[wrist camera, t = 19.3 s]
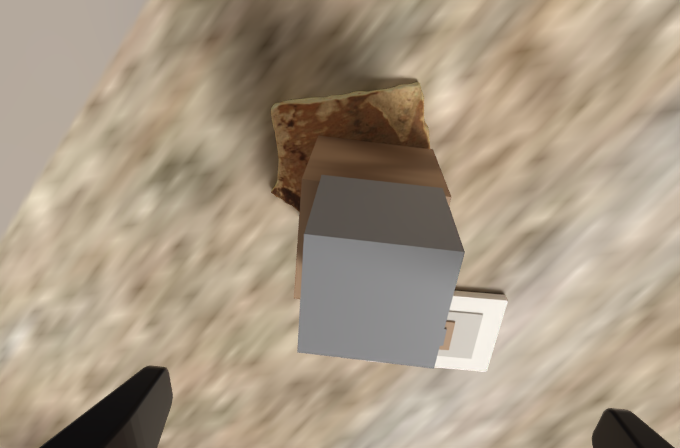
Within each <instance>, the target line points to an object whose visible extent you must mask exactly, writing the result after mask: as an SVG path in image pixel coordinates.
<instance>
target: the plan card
mask: <svg viewBox="0 0 680 448" xmlns="http://www.w3.org/2000/svg"><path fill="white" fill-rule="evenodd" d="M507 302H508V300H507V297H506V295H501V294H490V293H478V292H466V291H454V294H453V298H452V302H451V306H450V310H449V313H448V317H447V321H446V325H445V328H444V332H443V336H442V340H441V344H440V347H439V351H438V355H437V359H436V362H435V366H434V367H438V368H449V369H460V370H471V371H482V372H487V369H488V366H489V362H490V359H491V356H492V352H493V349H494V346H495V342H496V339H497V336H498V332H499V329H500V326H501V322H502V319H503V316H504V312H505V309H506V306H507ZM372 362H375V361H372Z"/></svg>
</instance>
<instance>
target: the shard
mask: <svg viewBox="0 0 680 448" xmlns="http://www.w3.org/2000/svg"><path fill="white" fill-rule="evenodd" d="M271 117H272V124H273V128H274V131H275V138H276V143H277V149H278V159H279V162H278V175H277V176H278V179H277V183H276V185H275V186H274V187H273V189H272V191H271V193H273V194H274V195H275V196H276V197H279V198H281V199H282V200H283V201H284V202H285V203H287V204H290V205H292V206H293V207H294V208H295V209H297V210H298V211H299V212H300V199H301V184H302V177H303V175H304V172H305V169H306V167H307V164H308V161H309V159H310V156H311V154H312V151H313V148H314V146H315V143H316V141H317V138H318V136H326V137H334V138H342V139H351V140H359V141H367V142H375V143H384V144H392V145H400V146H408V147H417V148H425V149H430V140H429V130H428V126H427V125H426V123H425V121H424V96H423V93H422V91H421V86H420V83H418V82H415V83H411V84H402V85H398V86H396V87H392V88H388V89H381V90H375V91H368V92H365V91H355V92H352V93H349V94H344V95H331V96H328V97H325V98H320V97H311V98H304V99H295V100H287V101H283V102H279V103H275V104H274V105H273V106H272V108H271Z"/></svg>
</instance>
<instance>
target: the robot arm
mask: <svg viewBox="0 0 680 448" xmlns="http://www.w3.org/2000/svg"><path fill="white" fill-rule="evenodd" d="M172 399H173V394H172V388H171V382H170V377H169V372H168V369H167V368H166V367H160V366H146V367H144V368H143V369H142V370H140V371H139V372H138V373H136V374H135V375H134V376H132V377H131V378H130V379H128V380H127V381H126V382H125V383H123V384H122V385H121V386H119V387H118V388H117V389H115V390H114V391H113V392H111V393H110V394H109V395H108V396H106V397H105V398H104V399H102V400H101V401H100V402H98V403H97V404H96V405H94V406H93V407H92V408H91V409H89V410H88V411H87V412H85V413H84V414H83V415H81V416H80V417H79V418H77V419H76V420H75V421H74V422H72V423H71V424H70V425H68V426H67V427H66V428H64V429H63V430H62V431H60V432H59V433H58V434H57V435H55V436H54V437H53V438H51V439H50V440H49V441H47V442H46V443H45V444H43V445H42V446H41V447H40V448H157V447H158V444H159V441H160V438H161V435H162V432H163V429H164V426H165V423H166V420H167V417H168V414H169V411H170V408H171V404H172ZM592 445H593V448H674V447H673V446H672V445H671V444H669V443H668V442H667V441H666V440H665V439H663V438H662V437H661V436H660V435H659V434H658V433H656V432H655V431H654V430H653V429H652V428H650V427H649V426H648V425H647V424H646V423H644V422H643V421H642V420H641V419H640V418H638V417H637V416H636V415H635V414H634V413H632V412H631V411H628V410H625V409H614V408H608V409H606V410H605V411H604V412H603V414H602V416H601V418H600V420H599V422H598V424H597V426H596V428H595V430H594V432H593V435H592Z"/></svg>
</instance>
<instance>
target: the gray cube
mask: <svg viewBox="0 0 680 448" xmlns="http://www.w3.org/2000/svg"><path fill="white" fill-rule="evenodd" d="M464 253H465V252H464V249H463V246H462V243H461V240H460V237H459V234H458V231H457V228H456V225H455V223H454V220H453V217H452V214H451V211H450V208H449V205H448V202H447V199H446V196H445V193H444V191H443V188H438V187H429V186H419V185H410V184H401V183H392V182H383V181H374V180H365V179H356V178H346V177H337V176H328V175H321V179H320V182H319V185H318V189H317V192H316V195H315V199H314V202H313V206H312V209H311V212H310V216H309V219H308V222H307V226H306V229H305V232H304V244H303V262H302V279H301V297H300V315H299V333H298V351H297V352H299V353H308V354H316V355H324V356H333V357H341V358H350V359H358V360H366V361H375V362H383V363H392V364H400V365H408V366H417V367H425V368H434V366H435V362H436V359H437V355H438V351H439V347H440V344H441V340H442V336H443V332H444V328H445V325H446V321H447V317H448V313H449V310H450V306H451V302H452V298H453V294H454V291H455V287H456V283H457V279H458V275H459V272H460V268H461V264H462V260H463V257H464Z"/></svg>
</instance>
